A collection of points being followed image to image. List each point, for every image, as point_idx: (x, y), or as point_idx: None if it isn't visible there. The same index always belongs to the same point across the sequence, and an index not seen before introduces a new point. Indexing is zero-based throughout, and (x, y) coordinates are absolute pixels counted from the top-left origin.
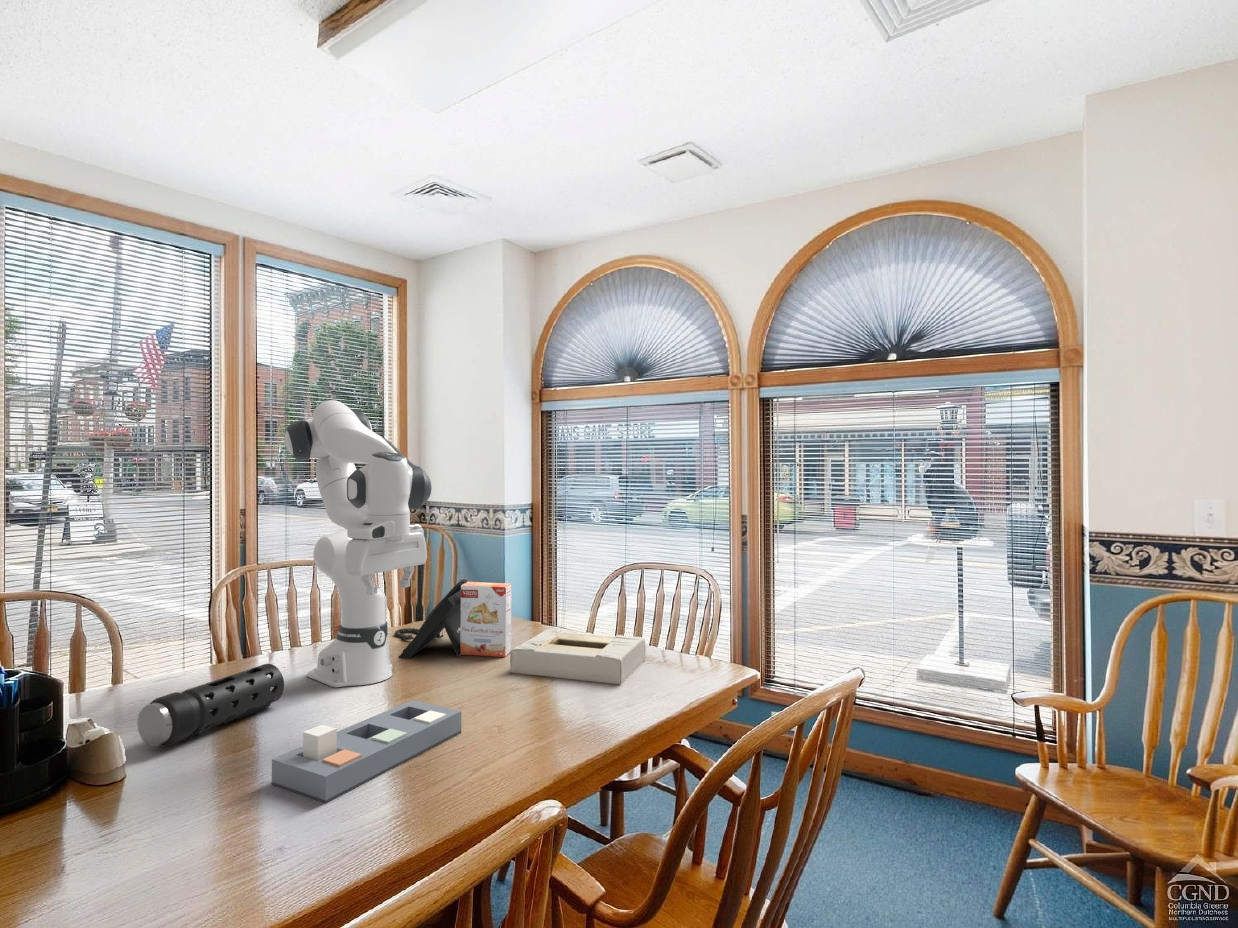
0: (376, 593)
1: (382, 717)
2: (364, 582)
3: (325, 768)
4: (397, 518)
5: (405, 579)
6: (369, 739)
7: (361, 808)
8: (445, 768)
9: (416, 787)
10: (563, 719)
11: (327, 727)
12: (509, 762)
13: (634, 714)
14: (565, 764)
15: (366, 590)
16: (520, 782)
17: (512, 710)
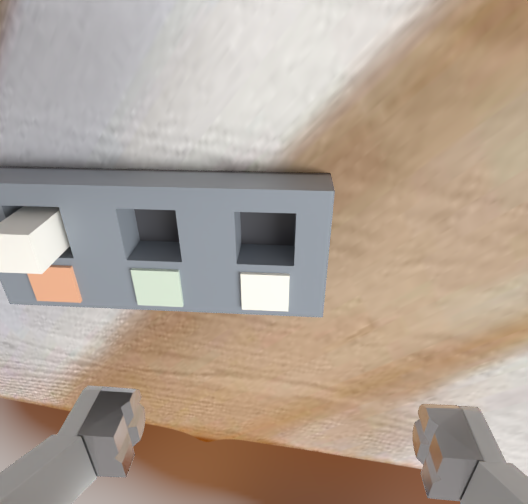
0: (142, 421)
1: (215, 209)
2: (15, 472)
3: (20, 285)
4: None
5: (450, 490)
6: (129, 265)
7: (61, 323)
8: (201, 341)
9: (139, 342)
10: (438, 389)
11: (30, 256)
12: (262, 392)
13: None
14: (291, 439)
15: (76, 406)
16: (224, 421)
17: (455, 309)
